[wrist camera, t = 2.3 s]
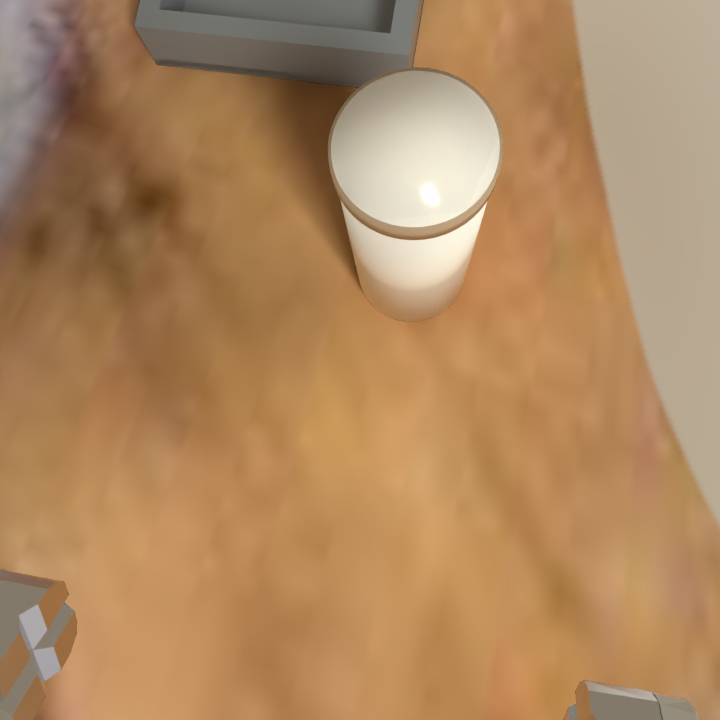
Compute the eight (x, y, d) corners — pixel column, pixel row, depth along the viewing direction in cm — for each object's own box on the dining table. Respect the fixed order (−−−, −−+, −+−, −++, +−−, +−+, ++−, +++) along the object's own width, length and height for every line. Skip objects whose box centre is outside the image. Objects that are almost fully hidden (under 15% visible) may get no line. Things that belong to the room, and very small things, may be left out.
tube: (348, 315, 32) (314, 218, 20) (365, 211, 32) (343, 58, 21) (458, 331, 31) (491, 241, 19) (473, 225, 32) (513, 77, 20)
